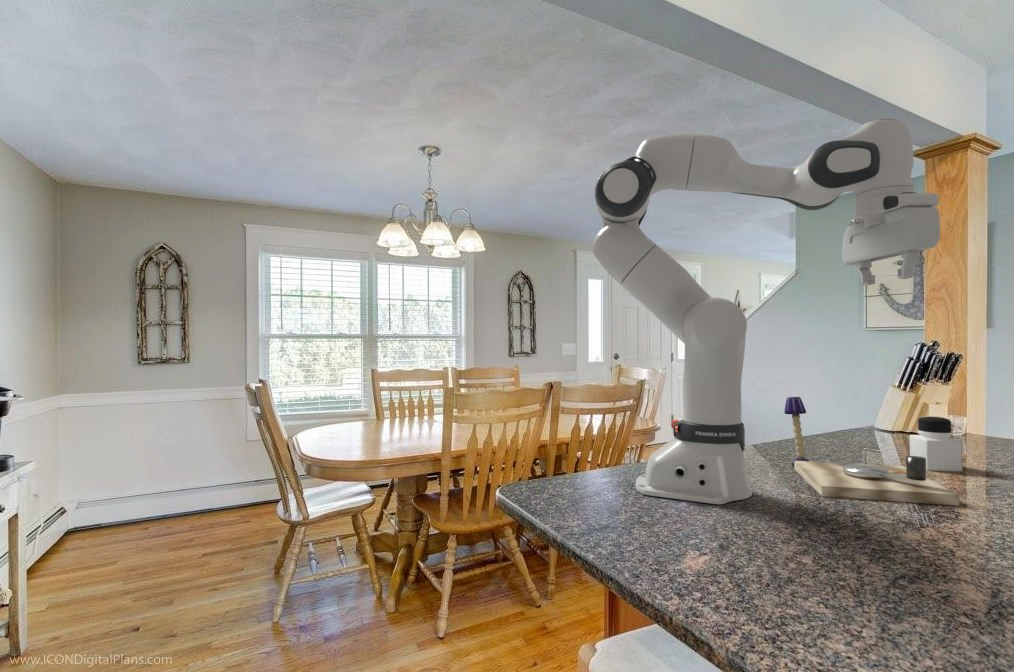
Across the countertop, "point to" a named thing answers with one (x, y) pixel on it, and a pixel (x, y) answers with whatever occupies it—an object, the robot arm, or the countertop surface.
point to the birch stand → (872, 485)
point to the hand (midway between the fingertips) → (886, 281)
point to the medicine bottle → (937, 445)
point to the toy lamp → (796, 424)
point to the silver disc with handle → (913, 471)
